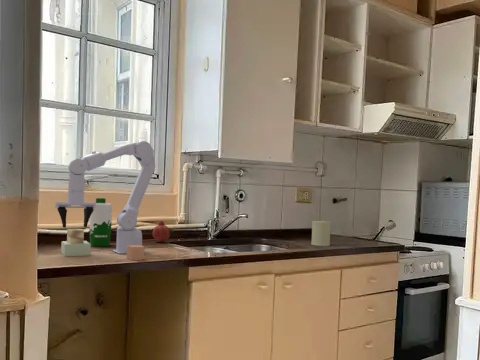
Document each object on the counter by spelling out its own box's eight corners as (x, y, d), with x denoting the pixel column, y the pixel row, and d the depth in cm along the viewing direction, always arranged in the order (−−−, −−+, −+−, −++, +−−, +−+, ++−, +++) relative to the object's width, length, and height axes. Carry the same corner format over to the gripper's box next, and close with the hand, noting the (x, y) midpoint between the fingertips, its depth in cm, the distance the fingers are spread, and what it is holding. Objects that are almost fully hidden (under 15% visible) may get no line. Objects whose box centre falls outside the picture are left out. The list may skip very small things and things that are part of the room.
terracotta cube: (139, 257, 170) (139, 244, 170) (144, 259, 166) (144, 246, 166) (126, 258, 167) (127, 245, 167) (131, 260, 163) (131, 247, 163)
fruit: (148, 242, 211) (149, 220, 211) (157, 240, 219) (157, 219, 219) (164, 244, 209) (165, 222, 209) (172, 242, 217) (173, 220, 217)
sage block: (85, 252, 179) (86, 240, 179) (90, 255, 171) (90, 243, 171) (61, 253, 175) (61, 241, 175) (64, 256, 167) (65, 244, 167)
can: (326, 246, 223) (327, 221, 223) (308, 244, 227) (309, 220, 227) (332, 244, 231) (333, 220, 231) (315, 243, 235) (315, 219, 235)
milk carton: (108, 243, 202) (110, 198, 202) (111, 246, 194) (113, 199, 194) (87, 244, 199) (89, 197, 199) (90, 247, 190) (92, 198, 191)
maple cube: (79, 241, 176) (80, 228, 176) (83, 243, 172) (83, 230, 172) (66, 241, 174) (67, 229, 174) (70, 243, 170) (70, 230, 170)
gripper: (92, 191, 181) (91, 225, 181) (53, 190, 173) (52, 226, 173) (98, 191, 175) (96, 227, 175) (57, 190, 167) (56, 228, 167)
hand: (74, 227), depth 173 cm, fingers open, 7 cm apart
